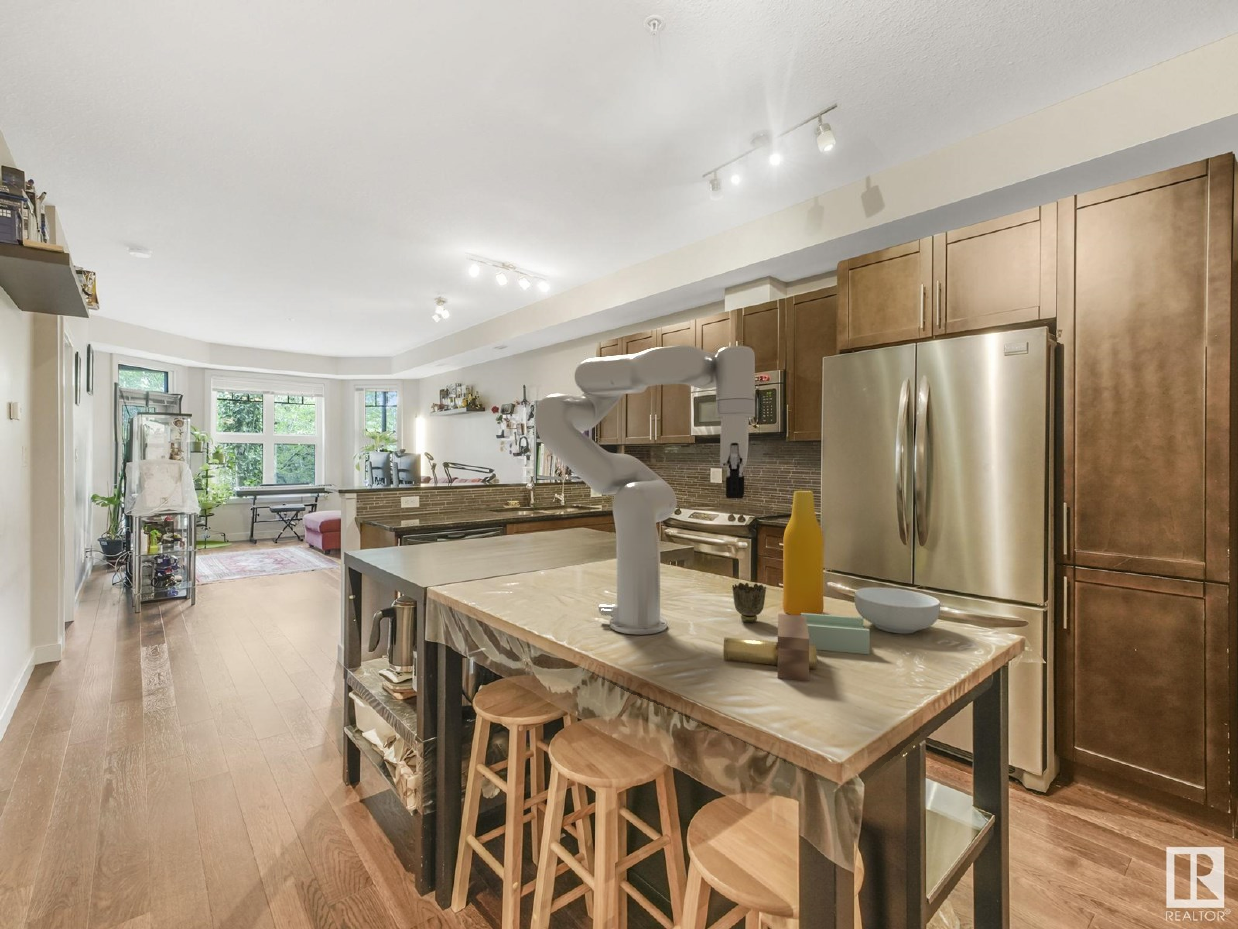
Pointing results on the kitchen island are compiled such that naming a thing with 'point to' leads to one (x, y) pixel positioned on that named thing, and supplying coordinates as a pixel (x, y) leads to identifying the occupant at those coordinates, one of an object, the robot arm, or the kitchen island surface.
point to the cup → (749, 601)
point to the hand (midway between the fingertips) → (735, 496)
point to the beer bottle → (803, 559)
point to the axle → (759, 651)
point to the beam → (793, 647)
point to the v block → (838, 633)
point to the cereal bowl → (897, 609)
